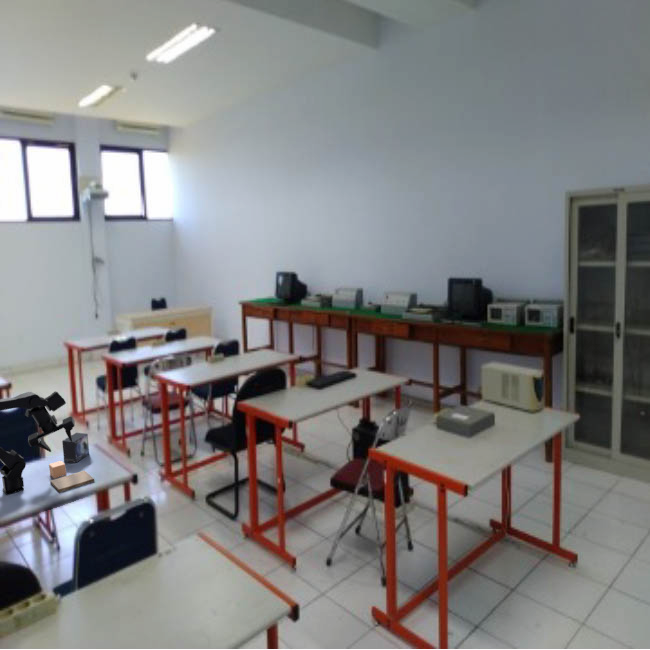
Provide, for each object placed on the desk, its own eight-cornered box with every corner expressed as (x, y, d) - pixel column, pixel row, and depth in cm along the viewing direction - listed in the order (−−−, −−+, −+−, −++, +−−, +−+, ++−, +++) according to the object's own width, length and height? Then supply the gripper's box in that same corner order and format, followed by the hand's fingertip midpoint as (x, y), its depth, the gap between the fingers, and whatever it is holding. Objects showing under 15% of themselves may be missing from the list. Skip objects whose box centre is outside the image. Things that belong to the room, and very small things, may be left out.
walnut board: (59, 492, 226) (58, 489, 225) (50, 483, 234) (50, 480, 233) (94, 481, 235) (93, 478, 235) (84, 472, 243) (84, 470, 243)
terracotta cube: (53, 478, 238) (52, 467, 237) (50, 474, 242) (49, 464, 241) (66, 474, 242) (65, 464, 241) (62, 471, 245) (61, 460, 244)
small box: (76, 463, 253) (73, 441, 251) (63, 462, 254) (61, 440, 252) (90, 454, 263) (88, 433, 261) (77, 453, 264) (75, 432, 262)
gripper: (65, 399, 243) (82, 427, 250) (21, 419, 238) (40, 447, 245) (65, 411, 234) (82, 439, 241) (20, 432, 229) (39, 460, 236)
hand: (61, 446), depth 241 cm, fingers open, 9 cm apart
